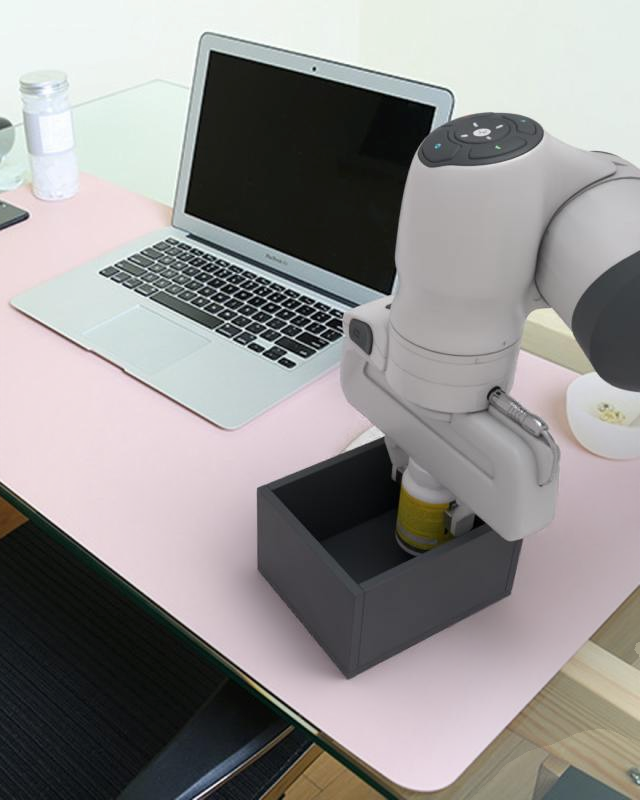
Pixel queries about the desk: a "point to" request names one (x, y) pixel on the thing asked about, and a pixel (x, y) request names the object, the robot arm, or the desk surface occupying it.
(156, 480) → the desk surface
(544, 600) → the desk surface
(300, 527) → the bin
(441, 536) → the supplement bottle
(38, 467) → the desk surface
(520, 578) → the desk surface
